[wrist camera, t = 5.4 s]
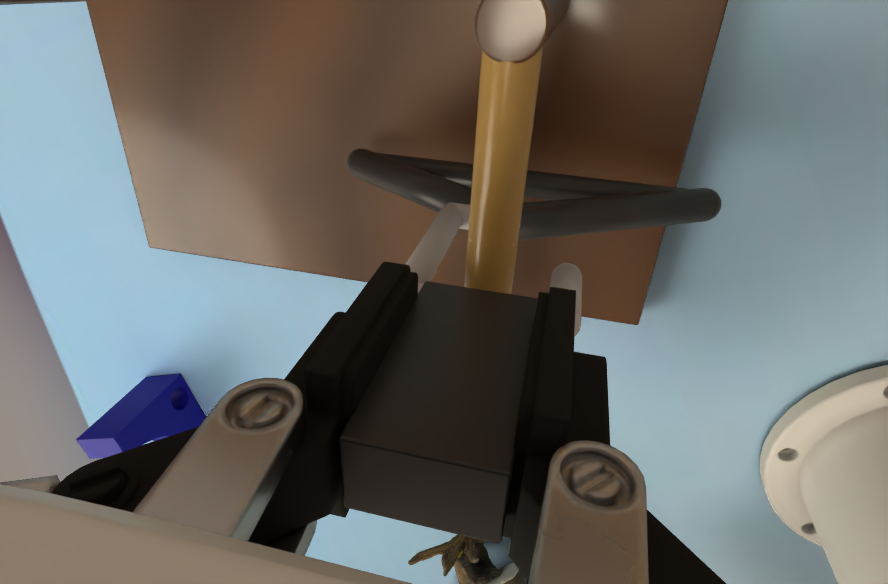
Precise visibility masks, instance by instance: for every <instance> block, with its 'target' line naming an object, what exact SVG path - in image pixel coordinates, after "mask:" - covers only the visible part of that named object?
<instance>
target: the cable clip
mask: <svg viewBox="0 0 888 584" xmlns="http://www.w3.org/2000/svg"><path fill="white" fill-rule="evenodd" d="M205 419H206V417H205V415H204V413H203V412H202V410H201V408H200V407H199V405H198V403H197V401H196V400H195V398H194V396H193V395H192V393H191V391H190V389H189V388H188V386H187V384H186V383H185V381H184V379H183V377H182V376H181V374H174V375H162V376H151V377H146V378H144V379H143V380H142V381H141V382H140V383H139V384H138V385H137V386H135V387H134V388H133V389H132V390H131V391H130V392H129V393H128V394H127V395H125V396H124V397H123V398H122V399H121V400H120V401H119V402H118V403H116V404H115V405H114V406H113V407H112V408H111V409H110V410H109V411H108V412H106V413H105V414H104V415H103V416H102V417H101V418H100V419H99V420H97V421H96V422H95V423H94V424H93V425H92V426H91V427H90V428H88V429H87V430H86V431H85V432H84V433H83V434H82V435H81V436H80V437H78V438H77V439H76V440H77V442H78V443H79V445H80V446H81V448H82V449H83V450H84V452H85V453H86V454H87V456H88V457H89V458H106V457H109V456H112V455H115V454H118V453H121V452H124V451H127V450H130V449H133V448H136V447H139V446H141V445H143V444H145V443H146V442H149V441H151V440H153V441H157V440H160V439H163V438H166V437H169V436H172V435H175V434H178V433H181V432H184V431H187V430H190V429H193V428H196V427H199V426H200V425H201V424H202V422H203V421H204V420H205Z"/></svg>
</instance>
